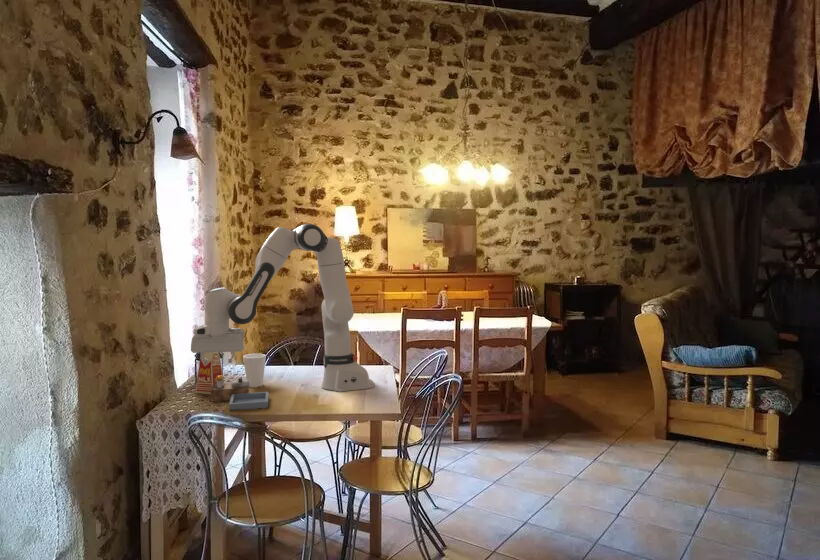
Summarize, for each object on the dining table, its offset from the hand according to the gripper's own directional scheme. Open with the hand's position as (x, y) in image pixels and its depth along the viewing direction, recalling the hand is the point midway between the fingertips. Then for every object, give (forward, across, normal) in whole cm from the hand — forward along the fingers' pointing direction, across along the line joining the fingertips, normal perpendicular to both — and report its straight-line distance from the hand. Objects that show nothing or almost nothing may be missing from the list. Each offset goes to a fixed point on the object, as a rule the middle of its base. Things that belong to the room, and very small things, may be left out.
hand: (218, 363), depth 239 cm
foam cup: (+14, -14, -17) cm, 26 cm away
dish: (+14, -13, +11) cm, 22 cm away
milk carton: (+15, +4, -12) cm, 19 cm away
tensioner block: (+14, -5, 0) cm, 15 cm away
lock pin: (+14, -1, 0) cm, 14 cm away
